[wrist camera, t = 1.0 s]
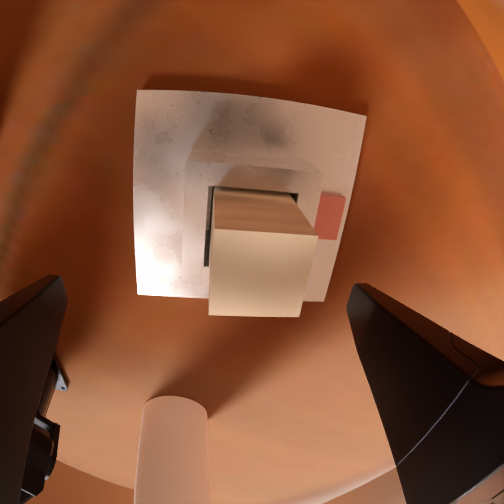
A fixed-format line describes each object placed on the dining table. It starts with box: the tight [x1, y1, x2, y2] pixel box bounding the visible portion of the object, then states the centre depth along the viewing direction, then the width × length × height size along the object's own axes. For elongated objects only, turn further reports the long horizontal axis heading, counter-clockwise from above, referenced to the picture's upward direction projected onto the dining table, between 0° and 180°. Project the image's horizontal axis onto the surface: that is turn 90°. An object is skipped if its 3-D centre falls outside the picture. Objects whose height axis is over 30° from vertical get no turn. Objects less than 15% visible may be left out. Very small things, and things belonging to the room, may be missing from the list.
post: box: [209, 186, 318, 317], centre depth 16 cm, size 4×4×8 cm
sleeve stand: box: [133, 90, 367, 302], centre depth 19 cm, size 14×14×4 cm
